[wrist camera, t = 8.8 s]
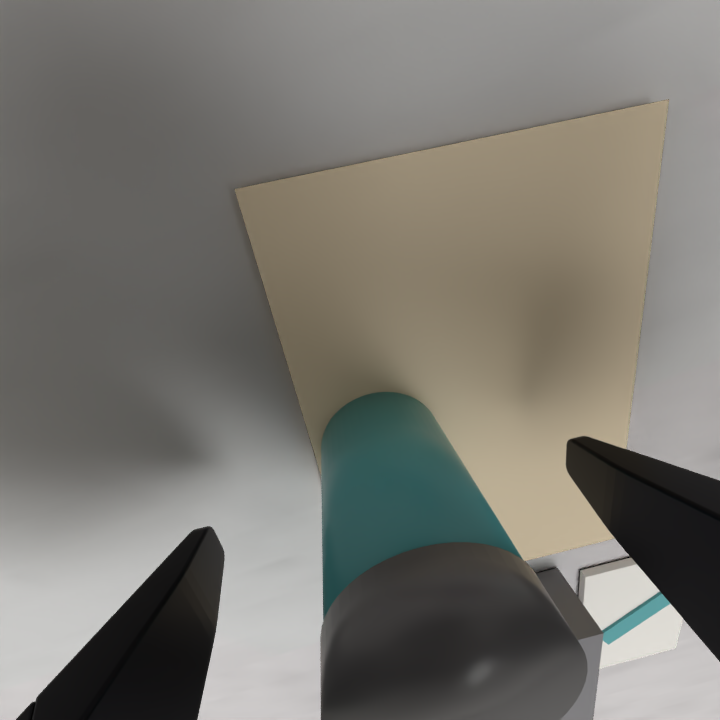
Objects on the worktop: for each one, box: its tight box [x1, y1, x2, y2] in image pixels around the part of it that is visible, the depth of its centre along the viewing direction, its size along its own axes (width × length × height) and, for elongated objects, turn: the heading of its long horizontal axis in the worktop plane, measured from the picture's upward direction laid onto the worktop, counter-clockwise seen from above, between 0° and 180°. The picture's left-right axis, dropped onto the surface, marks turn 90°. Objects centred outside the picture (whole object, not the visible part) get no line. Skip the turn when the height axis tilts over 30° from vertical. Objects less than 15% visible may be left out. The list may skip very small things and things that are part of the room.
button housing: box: [536, 568, 604, 720], centre depth 14 cm, size 8×8×2 cm
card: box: [578, 558, 683, 669], centre depth 15 cm, size 5×7×1 cm
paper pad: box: [235, 99, 669, 561], centre depth 10 cm, size 10×14×1 cm
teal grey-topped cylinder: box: [320, 392, 588, 720], centre depth 7 cm, size 4×4×6 cm
